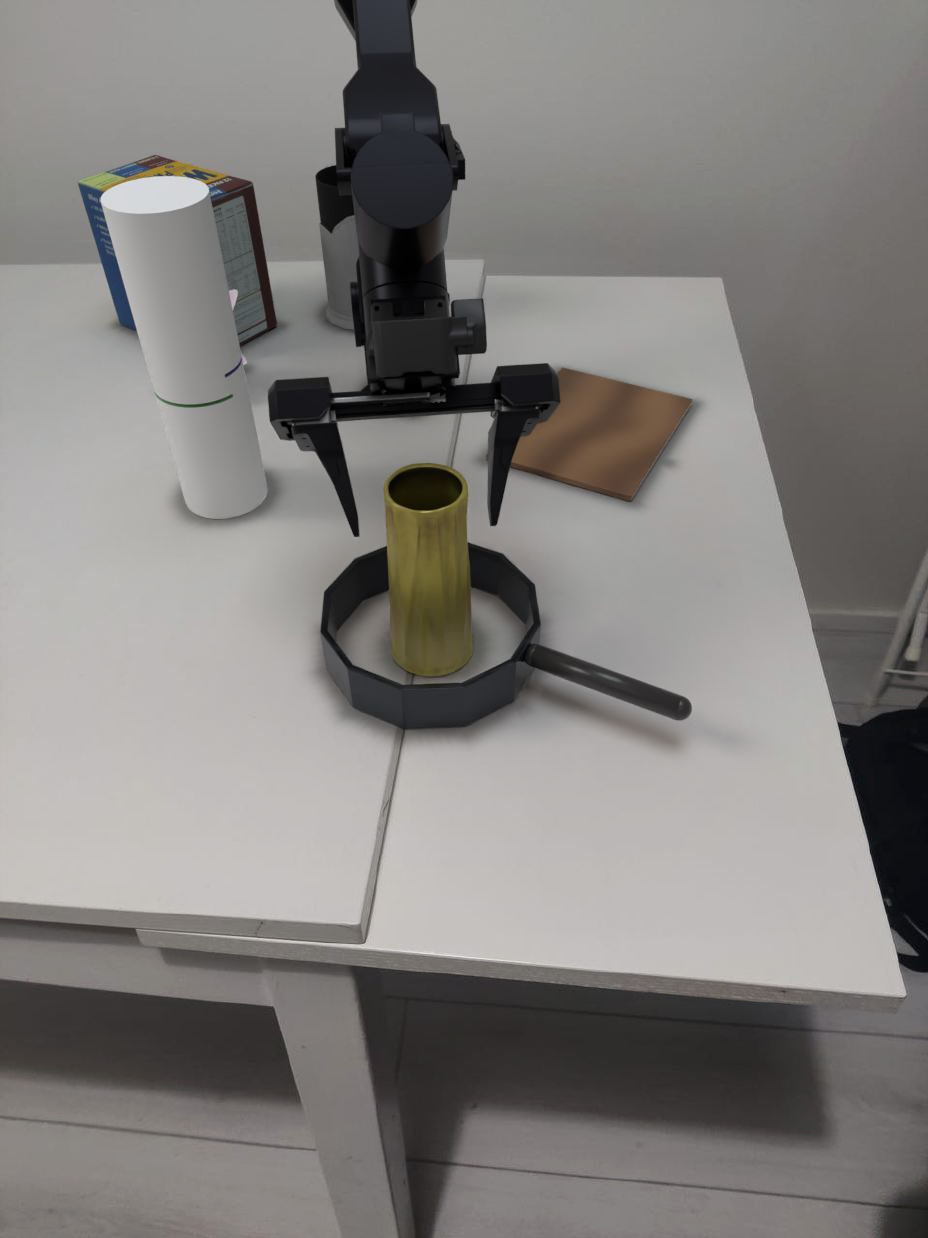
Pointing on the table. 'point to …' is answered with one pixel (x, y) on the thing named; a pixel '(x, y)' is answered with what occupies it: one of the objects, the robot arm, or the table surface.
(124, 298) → the protein box
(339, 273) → the glass holder
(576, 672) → the pan
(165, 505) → the table surface
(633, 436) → the wooden board
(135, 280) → the cylindrical container
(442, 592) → the vase
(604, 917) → the table surface
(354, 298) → the robot arm
